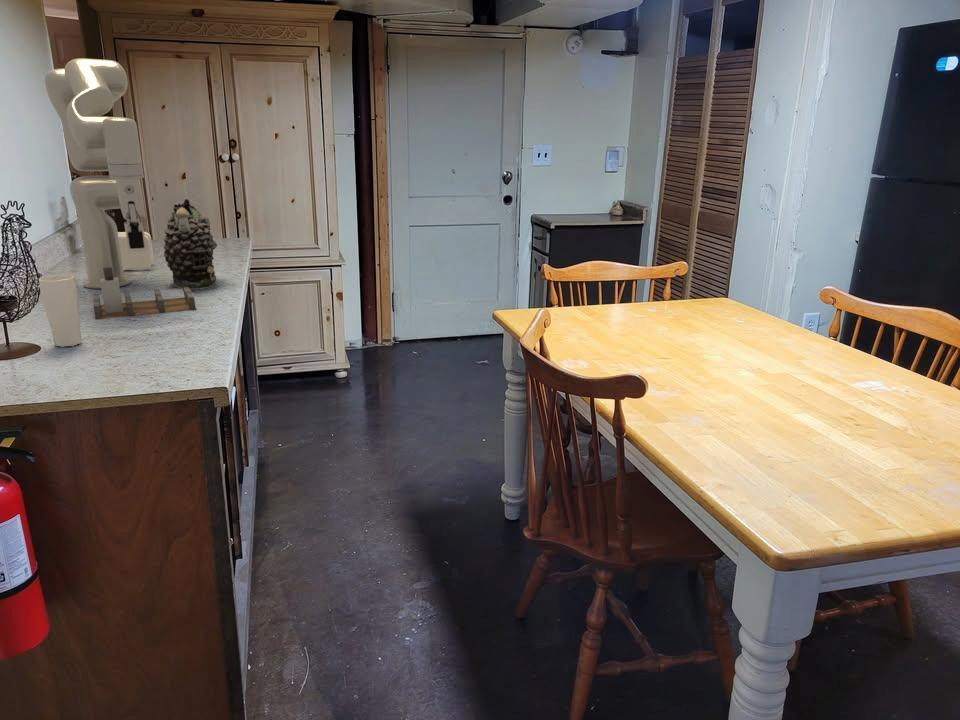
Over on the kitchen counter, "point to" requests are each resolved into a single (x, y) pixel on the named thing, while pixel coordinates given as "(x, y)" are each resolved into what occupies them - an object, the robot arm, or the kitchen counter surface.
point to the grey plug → (111, 292)
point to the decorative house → (189, 248)
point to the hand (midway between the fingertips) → (136, 245)
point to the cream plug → (138, 250)
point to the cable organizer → (137, 261)
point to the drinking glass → (61, 308)
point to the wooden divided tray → (147, 305)
